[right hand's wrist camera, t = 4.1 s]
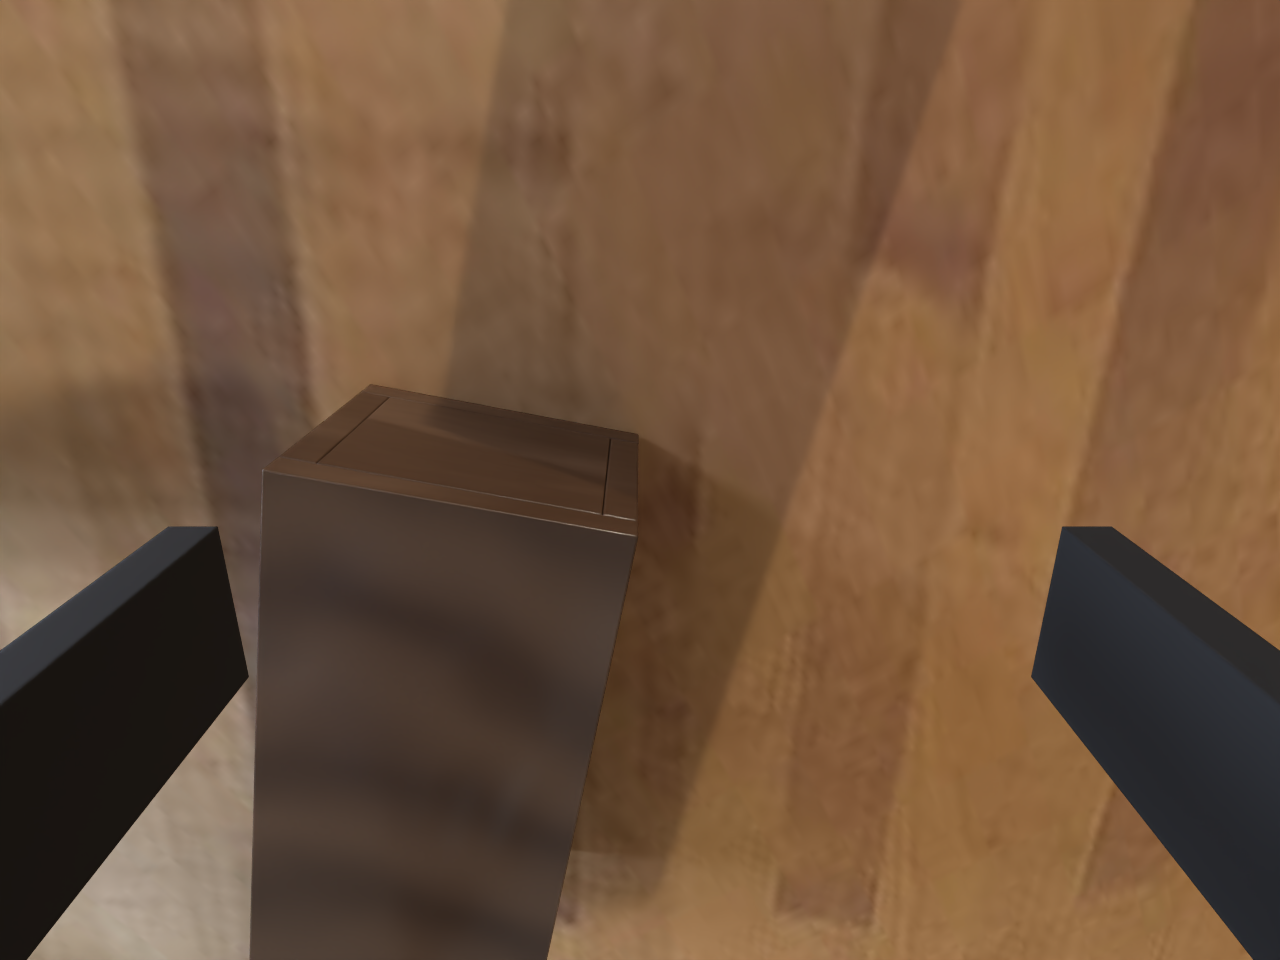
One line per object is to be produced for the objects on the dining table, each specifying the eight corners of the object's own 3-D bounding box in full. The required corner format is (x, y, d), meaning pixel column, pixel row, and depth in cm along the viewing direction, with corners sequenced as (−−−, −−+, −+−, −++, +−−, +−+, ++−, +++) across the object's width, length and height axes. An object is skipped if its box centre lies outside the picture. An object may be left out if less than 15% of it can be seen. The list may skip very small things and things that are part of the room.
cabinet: (553, 849, 38) (528, 1045, 30) (337, 817, 38) (247, 1009, 29) (638, 433, 31) (638, 536, 22) (369, 383, 30) (260, 469, 21)
